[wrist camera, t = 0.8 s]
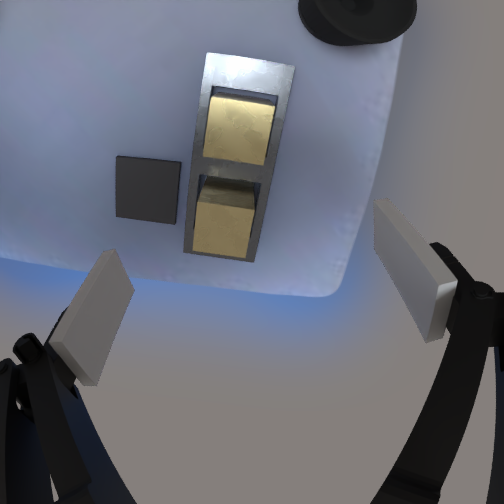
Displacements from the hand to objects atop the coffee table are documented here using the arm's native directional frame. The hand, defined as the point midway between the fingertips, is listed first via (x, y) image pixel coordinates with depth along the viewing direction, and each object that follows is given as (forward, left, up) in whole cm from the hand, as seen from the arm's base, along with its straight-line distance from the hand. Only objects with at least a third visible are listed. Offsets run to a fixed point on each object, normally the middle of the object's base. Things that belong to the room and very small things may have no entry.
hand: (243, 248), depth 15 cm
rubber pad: (-11, -7, -23) cm, 26 cm away
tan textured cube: (-1, -7, -23) cm, 24 cm away
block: (-1, +3, -23) cm, 23 cm away
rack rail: (-1, -2, -23) cm, 23 cm away
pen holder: (+7, +18, -23) cm, 30 cm away
